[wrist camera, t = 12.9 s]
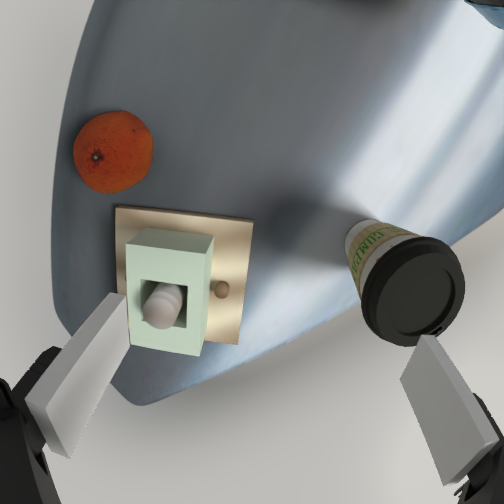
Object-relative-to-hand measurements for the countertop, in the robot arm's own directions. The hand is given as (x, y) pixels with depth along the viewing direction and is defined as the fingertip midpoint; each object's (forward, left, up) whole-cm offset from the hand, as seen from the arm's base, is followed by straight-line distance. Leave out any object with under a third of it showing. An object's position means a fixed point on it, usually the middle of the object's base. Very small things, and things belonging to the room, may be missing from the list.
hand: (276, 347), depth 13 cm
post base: (+9, -9, -24) cm, 27 cm away
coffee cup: (+2, +13, -24) cm, 28 cm away
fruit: (-6, -17, -25) cm, 30 cm away
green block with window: (+9, -9, -23) cm, 26 cm away
